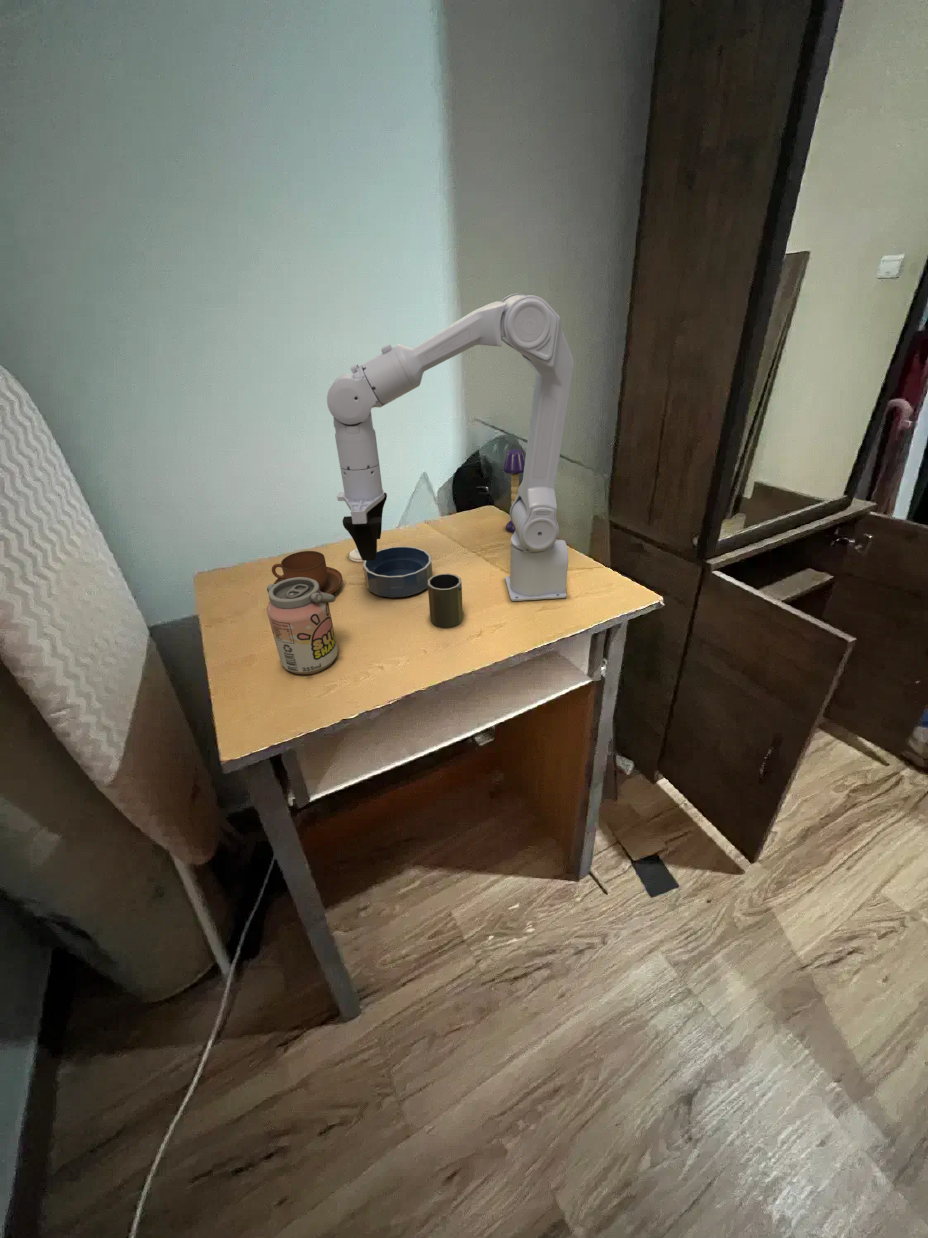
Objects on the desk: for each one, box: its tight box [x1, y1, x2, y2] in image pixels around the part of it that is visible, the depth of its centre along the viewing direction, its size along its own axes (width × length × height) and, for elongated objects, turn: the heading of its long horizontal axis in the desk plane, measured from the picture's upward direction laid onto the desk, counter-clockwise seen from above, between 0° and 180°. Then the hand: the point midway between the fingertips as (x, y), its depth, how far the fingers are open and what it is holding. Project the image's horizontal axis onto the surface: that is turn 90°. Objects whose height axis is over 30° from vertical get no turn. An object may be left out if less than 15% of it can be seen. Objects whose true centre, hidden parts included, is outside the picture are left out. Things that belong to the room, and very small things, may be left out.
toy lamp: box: [503, 448, 525, 533], centre depth 110 cm, size 5×5×17 cm
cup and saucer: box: [271, 550, 343, 595], centre depth 92 cm, size 12×12×6 cm
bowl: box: [362, 545, 434, 598], centre depth 94 cm, size 12×12×4 cm
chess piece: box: [348, 546, 364, 563], centre depth 102 cm, size 5×5×10 cm
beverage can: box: [266, 577, 339, 676], centre depth 74 cm, size 9×8×12 cm
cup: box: [427, 572, 464, 629], centre depth 83 cm, size 5×5×7 cm
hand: (371, 548), depth 85 cm, fingers open, 7 cm apart
